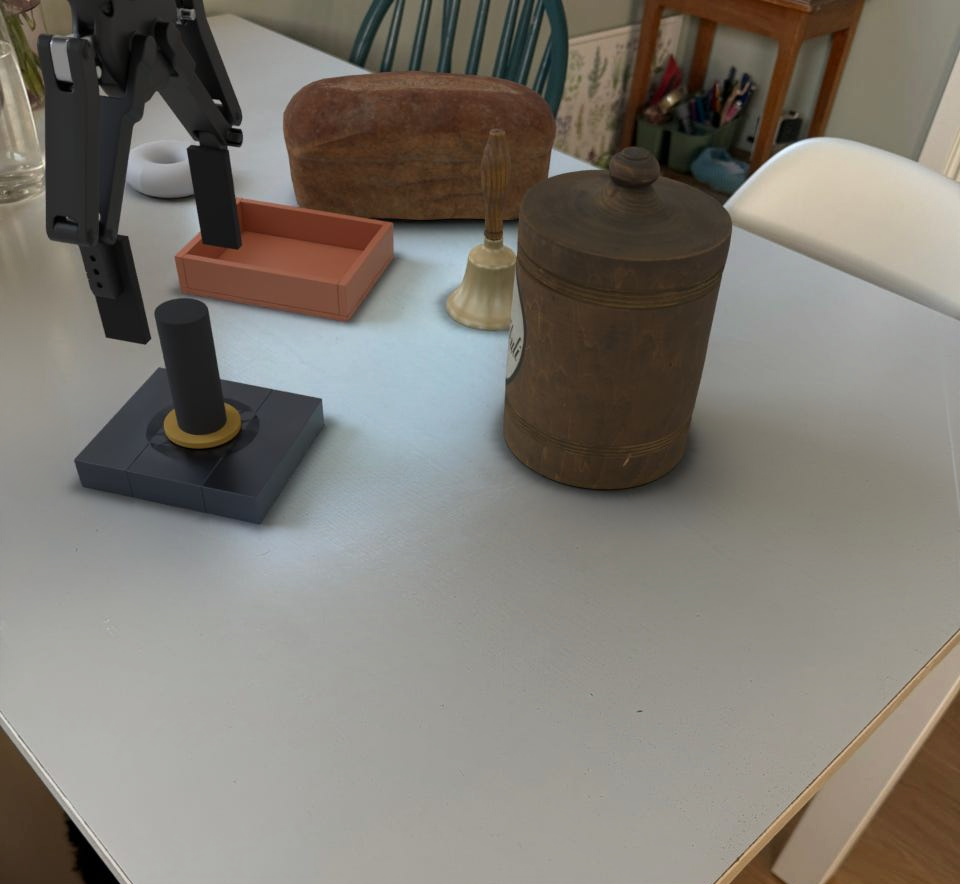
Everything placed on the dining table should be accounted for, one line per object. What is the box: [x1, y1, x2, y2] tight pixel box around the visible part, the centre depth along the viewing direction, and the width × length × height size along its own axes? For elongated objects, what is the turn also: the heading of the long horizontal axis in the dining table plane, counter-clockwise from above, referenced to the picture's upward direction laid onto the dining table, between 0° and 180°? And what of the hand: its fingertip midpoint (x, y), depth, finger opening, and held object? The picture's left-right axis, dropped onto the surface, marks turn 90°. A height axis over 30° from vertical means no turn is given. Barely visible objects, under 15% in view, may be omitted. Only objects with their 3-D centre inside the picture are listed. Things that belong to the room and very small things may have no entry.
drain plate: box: [73, 366, 325, 525], centre depth 75 cm, size 14×13×2 cm
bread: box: [282, 70, 557, 221], centre depth 103 cm, size 14×28×12 cm, turn 96°
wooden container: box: [502, 146, 733, 490], centre depth 72 cm, size 15×15×22 cm
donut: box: [125, 139, 200, 199], centre depth 107 cm, size 10×4×10 cm
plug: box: [153, 297, 241, 448], centre depth 71 cm, size 6×6×12 cm
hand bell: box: [445, 129, 517, 332], centre depth 87 cm, size 8×8×16 cm
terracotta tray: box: [173, 196, 395, 323], centre depth 94 cm, size 17×14×4 cm
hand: (179, 288), depth 65 cm, fingers open, 13 cm apart
